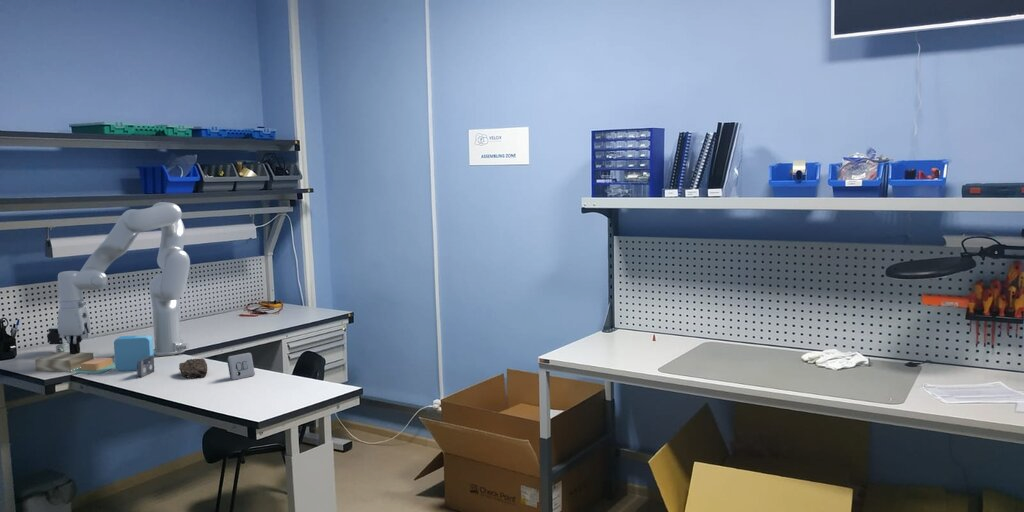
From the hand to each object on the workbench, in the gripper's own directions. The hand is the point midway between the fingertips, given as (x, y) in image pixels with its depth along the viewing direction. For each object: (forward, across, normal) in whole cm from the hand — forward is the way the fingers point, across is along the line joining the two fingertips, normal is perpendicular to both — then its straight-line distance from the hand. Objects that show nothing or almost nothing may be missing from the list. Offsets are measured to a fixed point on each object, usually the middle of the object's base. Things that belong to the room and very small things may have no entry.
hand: (75, 353), depth 270 cm
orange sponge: (+2, -9, 0) cm, 9 cm away
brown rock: (+6, -50, +5) cm, 50 cm away
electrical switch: (+5, -68, +6) cm, 68 cm away
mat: (+5, -9, 0) cm, 11 cm away
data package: (+5, -24, 0) cm, 24 cm away
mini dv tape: (+5, -33, +7) cm, 34 cm away
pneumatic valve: (+5, +21, -19) cm, 29 cm away
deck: (+5, +4, 0) cm, 7 cm away
